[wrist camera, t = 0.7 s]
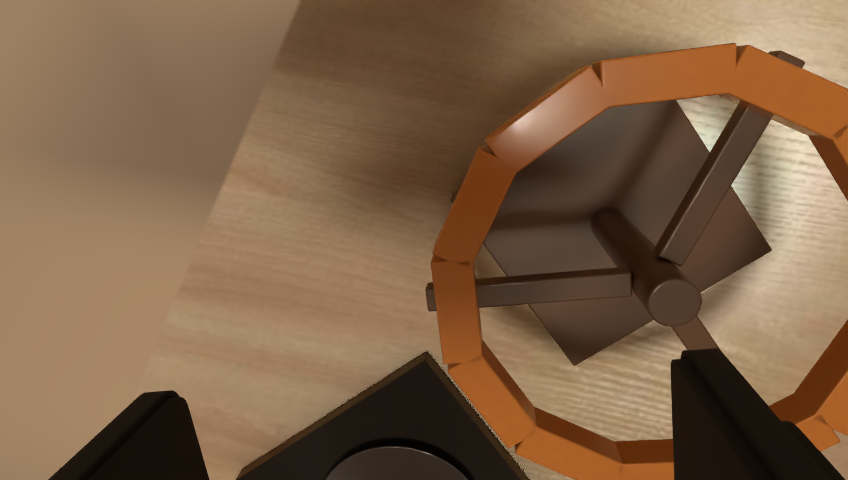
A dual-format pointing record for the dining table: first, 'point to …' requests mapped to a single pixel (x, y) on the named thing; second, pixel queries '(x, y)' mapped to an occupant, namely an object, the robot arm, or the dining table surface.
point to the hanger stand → (625, 227)
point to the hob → (394, 437)
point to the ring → (539, 132)
